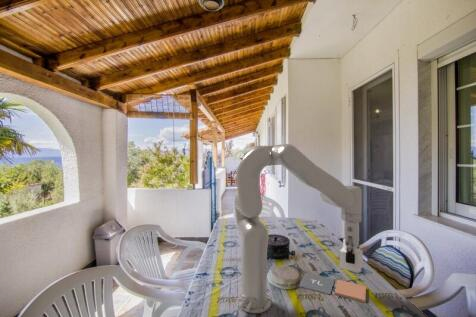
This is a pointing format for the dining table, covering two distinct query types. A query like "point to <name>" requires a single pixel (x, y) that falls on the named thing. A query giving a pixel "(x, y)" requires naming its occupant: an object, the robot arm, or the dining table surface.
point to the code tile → (317, 283)
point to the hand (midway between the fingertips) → (351, 258)
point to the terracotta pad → (351, 290)
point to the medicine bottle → (358, 259)
